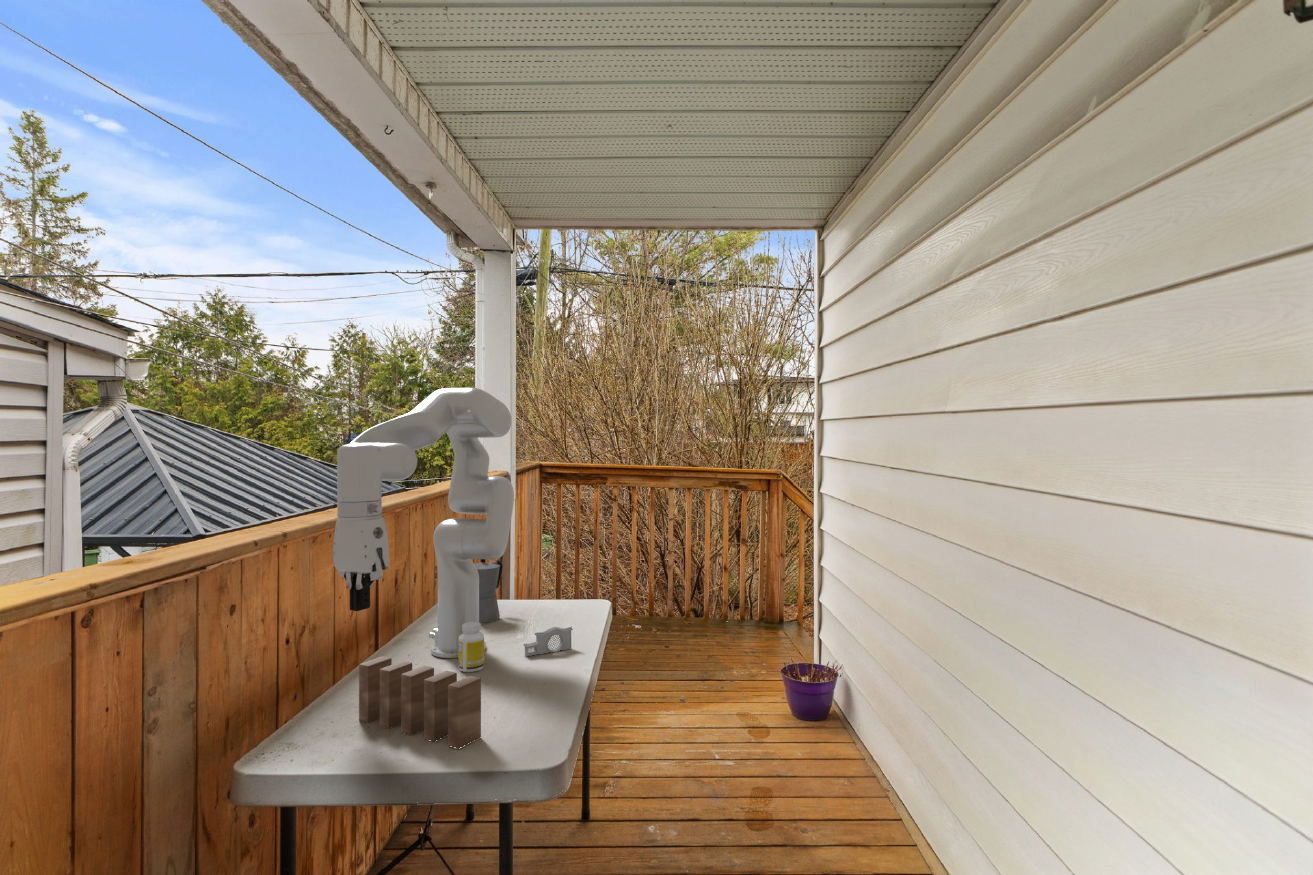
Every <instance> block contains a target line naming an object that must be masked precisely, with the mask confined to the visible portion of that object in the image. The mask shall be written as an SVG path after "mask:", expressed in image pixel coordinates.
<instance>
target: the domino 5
mask: <svg viewBox="0 0 1313 875" xmlns="http://www.w3.org/2000/svg"><path fill="white" fill-rule="evenodd" d="M480 737H481V738H482V678H481V677H478V676H474V675H469V676H467V677H464V678H461V679H460V680H457V682H454V683H452V684H450V685H448V736H447V747H448V746H452V747H456V748H458V749H459V748H460V747H463V746H464V745H467V744H468V743H470V742H472V741H474V740H476V739H478V738H480ZM481 738H480V739H481ZM478 740H479V739H478ZM476 741H477V740H476ZM474 742H475V741H474ZM472 743H473V742H472ZM467 746H468V745H467ZM463 748H464V747H463Z"/></svg>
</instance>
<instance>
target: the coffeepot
mask: <svg viewBox="0 0 1313 875" xmlns="http://www.w3.org/2000/svg"><path fill="white" fill-rule="evenodd" d="M486 561H487V559H480V562H477V563H474V565H475V567H476V568H477V571H478V574H479V623H482V624H489V623H488V622H490V623H493V622H492V621H494V622H496V620H497V621H499V620H500V617H501V616H500V615H501V614H500V611H499V605H498V599H497V595H496V591H497V589H499V587H500V582H501V577H502V572H503V564H502V561H500V559H499V560H497V559H496V560H493V561H490V562H486Z"/></svg>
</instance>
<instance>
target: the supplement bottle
mask: <svg viewBox="0 0 1313 875" xmlns="http://www.w3.org/2000/svg"><path fill="white" fill-rule="evenodd" d="M481 626H482V624H481V623H479V622H468V623H464V624H463V625H462V632H463V634H461V635H460V636H459V658H458V670H459V671H460V672H462V671H463V673H475V672H479V671H481V670H483V669H484V667H485V649H484V642H485V637H484V636H485V635H484V634H483V632H481V630H482V627H481ZM474 671H475V672H474Z"/></svg>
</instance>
